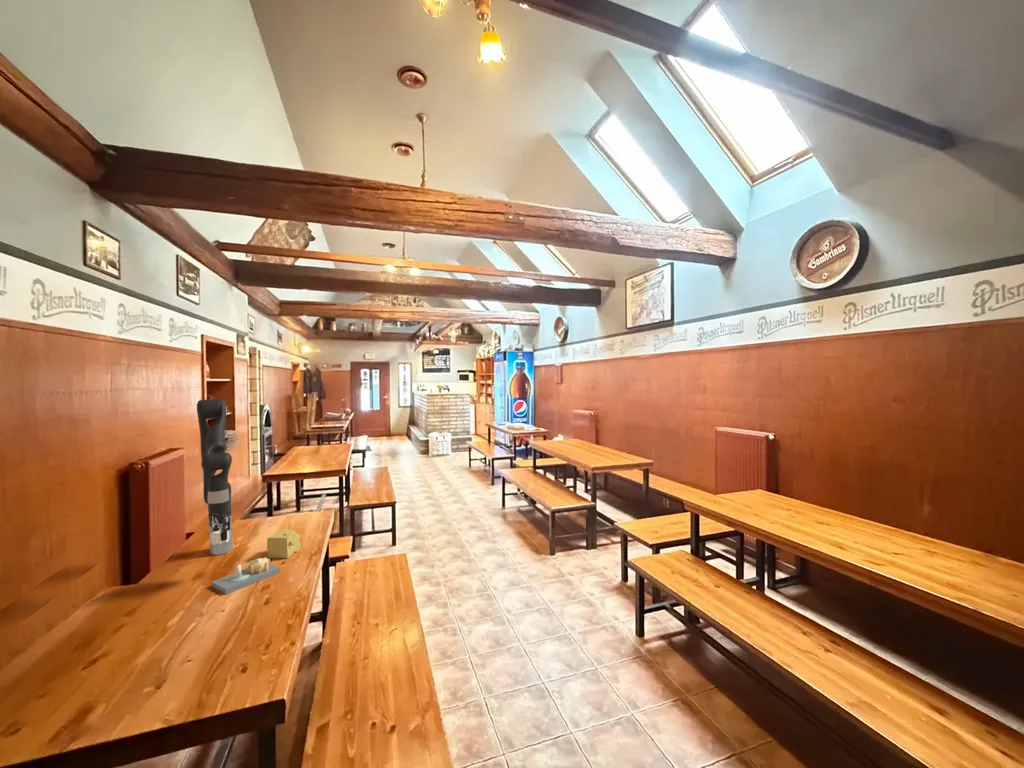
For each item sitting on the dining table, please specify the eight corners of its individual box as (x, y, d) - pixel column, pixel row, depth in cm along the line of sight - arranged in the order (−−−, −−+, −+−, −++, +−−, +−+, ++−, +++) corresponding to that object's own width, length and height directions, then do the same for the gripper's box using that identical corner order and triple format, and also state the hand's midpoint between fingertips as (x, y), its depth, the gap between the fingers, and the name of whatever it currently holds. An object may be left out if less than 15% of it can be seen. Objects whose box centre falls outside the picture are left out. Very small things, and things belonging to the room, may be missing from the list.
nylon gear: (208, 542, 180) (207, 533, 180) (225, 537, 185) (224, 528, 185) (215, 545, 176) (215, 536, 176) (232, 540, 182) (231, 531, 182)
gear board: (212, 586, 172) (211, 569, 172) (265, 565, 190) (264, 550, 189) (226, 594, 165) (225, 576, 165) (279, 572, 183) (279, 556, 183)
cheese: (301, 549, 207) (300, 529, 207) (287, 559, 196) (286, 538, 196) (281, 549, 208) (280, 528, 208) (266, 558, 197) (265, 537, 197)
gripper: (200, 499, 181) (202, 538, 181) (216, 505, 173) (218, 545, 174) (220, 495, 187) (221, 532, 188) (236, 500, 179) (238, 539, 180)
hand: (220, 538), depth 181 cm, fingers closed on nylon gear, 6 cm apart
